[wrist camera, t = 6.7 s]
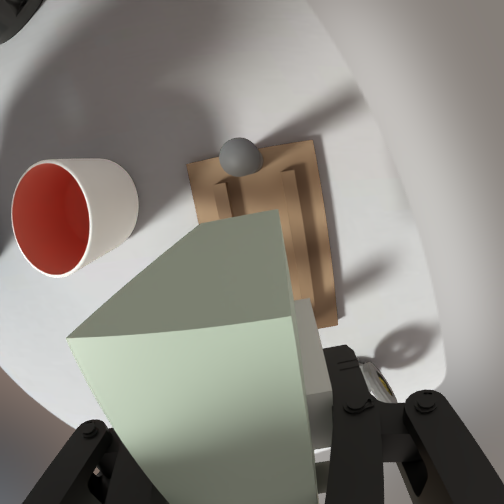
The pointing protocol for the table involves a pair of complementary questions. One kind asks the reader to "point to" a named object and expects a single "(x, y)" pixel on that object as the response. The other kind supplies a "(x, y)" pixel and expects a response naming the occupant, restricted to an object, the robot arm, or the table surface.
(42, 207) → the cup
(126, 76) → the table surface
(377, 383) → the pocket watch
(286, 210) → the hinge board
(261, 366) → the door
